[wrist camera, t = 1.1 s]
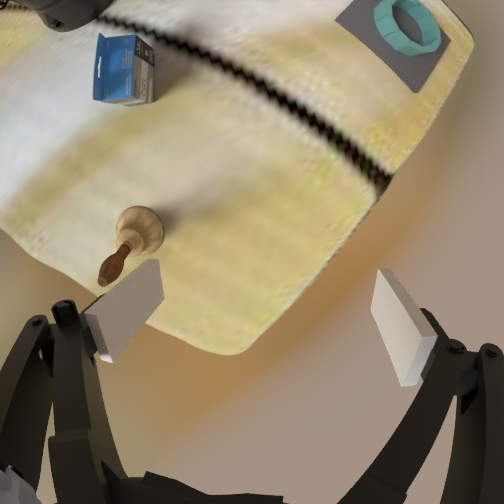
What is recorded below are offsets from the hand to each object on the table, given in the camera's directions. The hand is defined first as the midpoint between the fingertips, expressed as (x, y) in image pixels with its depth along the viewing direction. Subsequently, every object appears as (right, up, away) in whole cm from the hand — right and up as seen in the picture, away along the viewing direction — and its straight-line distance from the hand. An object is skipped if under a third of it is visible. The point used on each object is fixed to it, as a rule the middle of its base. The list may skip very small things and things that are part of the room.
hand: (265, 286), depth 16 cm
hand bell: (-19, +5, +26) cm, 32 cm away
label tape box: (-17, +27, +16) cm, 36 cm away
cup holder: (+25, +40, +13) cm, 49 cm away
